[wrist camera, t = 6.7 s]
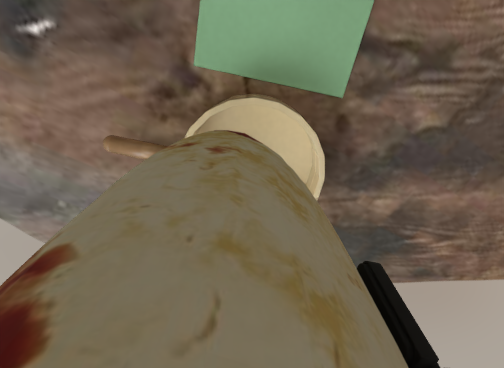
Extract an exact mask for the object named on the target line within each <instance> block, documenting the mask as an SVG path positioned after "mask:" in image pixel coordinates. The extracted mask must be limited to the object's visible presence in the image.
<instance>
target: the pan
mask: <svg viewBox="0 0 504 368" xmlns="http://www.w3.org/2000/svg"><path fill="white" fill-rule="evenodd" d="M214 130H229V131H235V132H241V133H245V134H247V135H249V136H251V137H252V138H254V139H256V140H258V141H259V142H261V143H263V144H264V145H266V146H267V147H269V148H270V149H271V150H273V151H274V152H276V153H277V154H279V155H280V156H281V157H282V158H283V159H284V161H285V162H286V163H287V164H288V166H290V167H291V168H292V169H293V170H294V171H295V172H296V174H297V175H298V176H299V178H300V179H301V180H302V181H303V182H304V183H305V185H306V186H307V187H308V189H309V190H310V192H311V193H312V195H313V196H314V198H315V199H316V201H317V199H318V197H319V194H320V191H321V188H322V185H323V182H324V179H325V156H324V153H323V150H322V147H321V145H320V142H319V139H318V136H317V134H316V133H315V132H314V130H313V129H312V128H311V127H310V126H309V124H308V123H307V122H306V121H305V120H304V118H303V117H302V116H301V115H300V114H299V112H298V111H297V110H296V109H294V108H293V107H291V106H289V105H288V104H286V103H285V102H283V101H281V100H279V99H277V98H274V97H270V96H266V95H260V94H245V95H238V96H232V97H230V98H228V99H226V100H224V101H221V102H220V103H218V104H215V105H213V106H212V107H211V108H210V109H208V110H207V111H206V112H205V113H204V114H203V115H202V116H201V117H200V118H199V119H198V120H197V121H196V122H195V123H194V124H193V125H192V126H191V127H190V128H189V130H188V132H187V134H186V136H185V138H187V137H189V136H192V135H196V134H200V133H204V132H207V131H214ZM185 138H184V139H185Z"/></svg>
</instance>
